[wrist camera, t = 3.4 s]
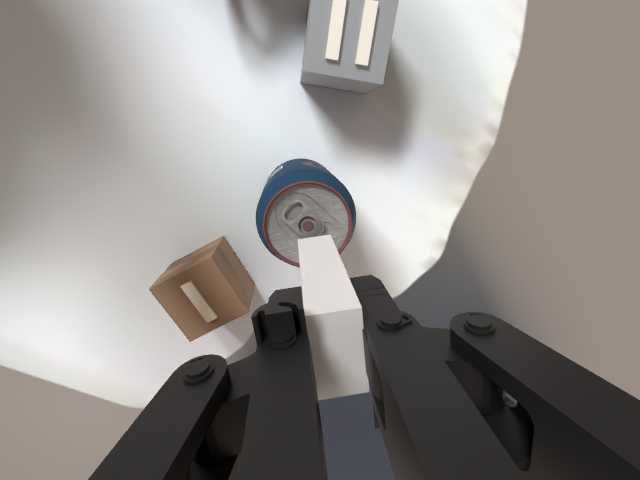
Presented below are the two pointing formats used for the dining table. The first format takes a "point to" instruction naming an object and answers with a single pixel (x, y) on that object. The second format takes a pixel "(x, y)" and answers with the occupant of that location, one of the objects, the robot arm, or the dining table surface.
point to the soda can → (303, 209)
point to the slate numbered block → (348, 43)
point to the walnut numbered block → (205, 289)
